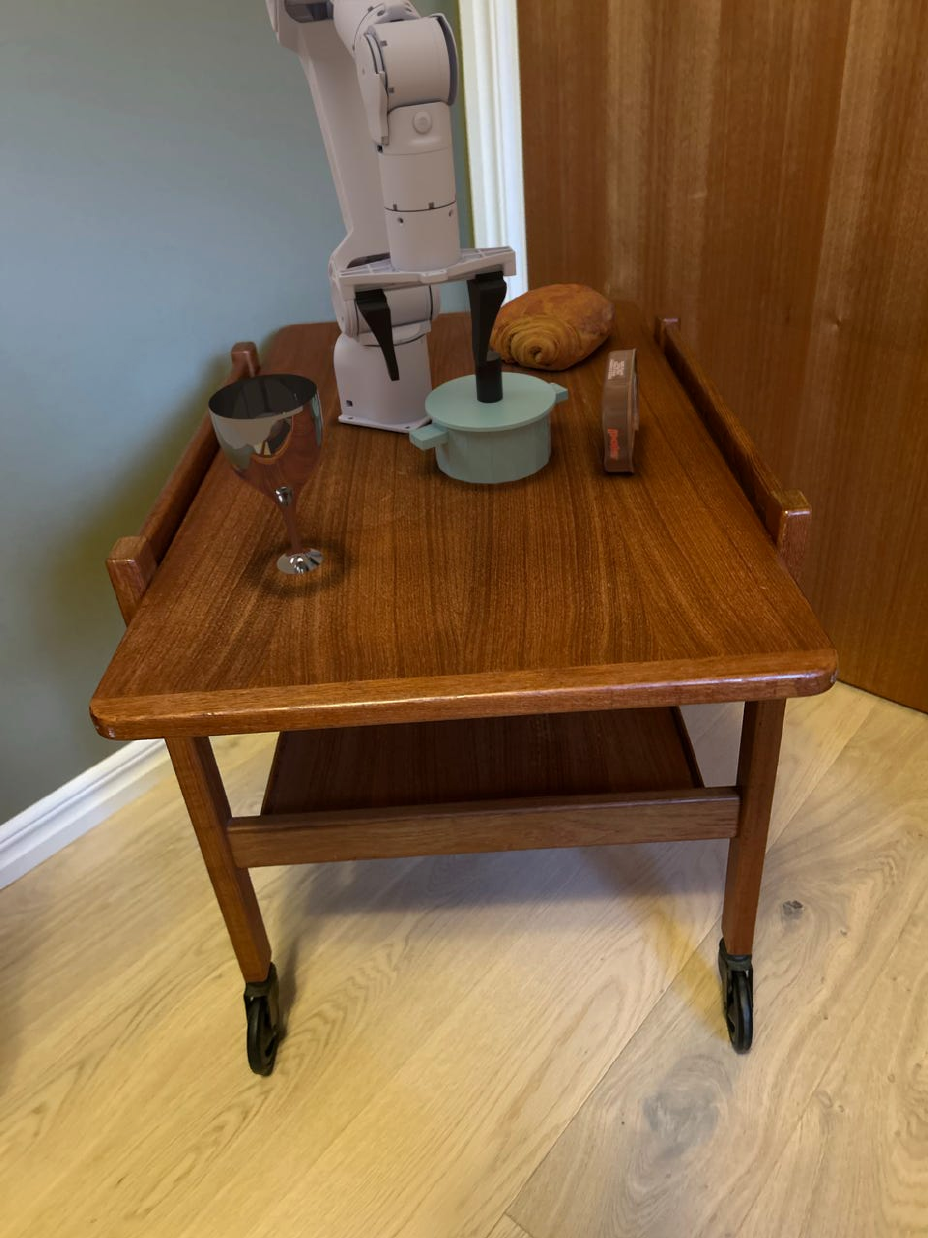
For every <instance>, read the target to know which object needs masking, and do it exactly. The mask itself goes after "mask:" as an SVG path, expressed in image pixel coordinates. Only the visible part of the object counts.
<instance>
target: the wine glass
mask: <svg viewBox="0 0 928 1238" xmlns="http://www.w3.org/2000/svg"><path fill="white" fill-rule="evenodd" d="M207 404H208V405H207V406H208V407H207V408H208V411H209V415H210V420H211V423H212V426H213V430H214V432H215V435H216V439H217V441H218V444H219V446H220V449H221V451H222V453H223V455H224V458H225V459H226V461H227V463H228V464H229V466H230V469H231V470H232V471H233V473H234V474H235V475H236V477H237V478H238V479H239V480H240V481H242V482H243V483H244V484H246V485H247V486H248V487H250V488H251V489H253V490H254V491H257V492H258V493H260V494H261V495H263V496H264V497H266V498H267V499H269V500H270V501H271V502H272V503H273V504H274V505H275V506H276V507H277V509H278V510H279V512H280V514H281V516H282V519H283V522H284V525H285V527H286V531H287V533H288V537H289V540H290V541H289V542H290V545H291V550H290V551H287V552H285V553H284V554H282V555H281V556H280V557H279V558H278V560H277V562H276V568H277V569H278V570H279V571H280V572H281V573H284V574H288V575H300V574H305V573H309V572H310V571H313V570H315V569H316V568H318V567H319V566H321V564H322V563H323V559H324V557H323V554H322V553H321V551H319V550H317V549H315V548H309V547H303V546H302V541H301V538H300V532H299V525H298V502H299V500H300V496H301V494H302V492H303V490H304V489H305V487H306V486H307V484H308V483H309V482H310V480H311V479H312V477H313V476H314V475H315V473H316V471H317V469H318V467H319V465H320V463H321V460H322V455H323V447H324V421H323V413H322V412H323V411H322V404H321V400H320V395H319V390H318V386H317V384H316V383H315V382H314V381H313V380H312V379H310V378H308V377H306V376H303V375H298V374H292V373H271V374H262V375H255V376H250V377H246V378H244V379H240V380H236V381H234V382H232V383H230V384H227V385H225V386H223V387H221V388H220V389H218V390H217V391H216V392H214V393H213V394H212V395H211V397H210V398H209V400H208V403H207Z"/></svg>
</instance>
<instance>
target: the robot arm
mask: <svg viewBox="0 0 928 1238" xmlns="http://www.w3.org/2000/svg"><path fill="white" fill-rule="evenodd" d="M264 1H265V5H266V9H267V12H268V17H269V21H270V25H271V28H272V30H273V31H274V32H275V37H276V40H277V43H278V45H280V46H281V47H284V48H285V49H287V50H289V51H290V52H293V53H295V54H297V57H298V58H299V62H300V64H301V67H302V69H303V71H304V74H305V77H306V80H307V82H308V85H309V89H310V92H311V97H312V101H313V104H314V105H313V106H314V109H315V112H316V116H317V120H318V125H319V129H320V132H321V136H322V141H323V144H324V149H325V153H326V157H327V160H328V164H329V169H330V172H331V176H332V180H333V184H334V187H335V192H336V196H337V199H338V204H339V208H340V212H341V216H342V220H343V225H344V227H345V232H346V236H345V237H344V238H343V239H342V240H341V242H340V243H339V244H338V245H337V247H336V248H335V249H334V250H333V251H332V253H331V254H330V257H329V260H328V265H327V275H328V279H329V280H328V281H329V285H330V295H331V301H332V306H333V311H334V315H335V318H336V321H337V325H338V327H339V330H340V331H341V333H340V335H339V336H338V337H337V340H336V342H335V346H334V350H333V366H334V373H335V379H336V385H337V391H338V392H337V393H338V397H339V402H340V408H341V415H339V416H338V417H337V418H338V422H340V423H344V424H349V425H355V426H361V427H368V428H373V429H379V430H385V431H391V432H398V433H404V434H409V432H410V431H413V430H416V429H419V428H422V427H425V426H426V425H428V424H429V422H430V421H432V419H431V418H430V417H429V416H428V414H427V413H426V408H425V401H426V399H427V397H428V395H429V394H430V393H431V392H432V391H433V387H432V375H431V368H430V367H431V365H430V358H429V357H430V356H429V347H428V339H427V338H428V337H427V334H428V333H431V332H432V325H431V323H434V322H436V320H437V318H438V316H439V314H440V311H441V306H442V298H441V297H442V296H441V289H440V285H443V284H449V283H455V282H464V281H466V287H467V294H468V303H469V310H470V311H469V312H470V319H471V349H472V357H473V358H472V359H473V361H475V362H476V364H477V365H478V367H484V366H486V363H487V353H488V351H489V347H490V337H491V333H492V330H493V326H494V323H495V320H496V317H497V315H498V312H499V310H500V308H501V307H502V306H503V303H504V301H505V300H506V297H507V292H508V284H507V282H506V281H505V279H504V278H506V277H514V276H517V260H516V259H517V257H516V255H517V254H516V251H515V250H514V248H512V247H511V246H510V245H503V246H502V245H501V246H493V247H476V248H475V247H474V248H461V241H460V240H461V239H460V225H459V224H460V223H459V213H458V200H457V189H456V175H455V163H454V149H453V136H452V125H451V110H450V108H449V107H453V106H454V104H455V103H456V101H457V100H458V99H457V98H458V95H459V89H460V61H459V54H458V48H457V47H458V46H457V43H456V40H455V35H454V32H453V29H452V26H451V25H450V23H449V21H448V20H447V18H446V16H445V14H444V13H442V12H438V13H437V12H436V13H431V14H430V15H428V16H421V15H420V14H419V12H418V11H417V9H416V8H415V7H414V5H413V4H412V3H411V1H410V0H264Z"/></svg>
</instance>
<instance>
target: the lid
mask: <svg viewBox="0 0 928 1238" xmlns="http://www.w3.org/2000/svg"><path fill="white" fill-rule="evenodd" d="M473 361H474V360H473ZM473 363H474V374H468V375H464V376H460V377H457V378H454V379H451V380H448V381H446V382H444V383H442V384H441V385H439V386H437V387H435V388H434V389H432V392H431V393H430V394H429V395H428V397H427V399H426V401H425V408H426V413H427V414H428V416H429V417H430V418H431V421H432V420H433V421H434V422H436V423H438V424H440V425H442V426H445V427H448V428H451V429H455V430H460V431H468V432H495V431H503V430H509V429H514V428H518V427H522V426H525V425H528V424H531V423H533V422H536V421H537V420H539V419H541V418H543V417H544V416H546V415H547V414H548V413H549V412H550V413H551V412H552V410H553V409H554V408H555V406H556V404H555V402H556V394H555V391H554V389H553V388H552V386H551V385H549V384H550V383H548V382H546V381H545V380H543V379H541V378H538V377H536V376H533V375H529V374H524V373H519V372H507V371H503V368H502V359H501V354H500V353H498V352H495V351H494V350H488V353H487V363H486V366H484V367H478V365H477V364H476V362H475V361H474V362H473Z"/></svg>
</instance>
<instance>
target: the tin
mask: <svg viewBox="0 0 928 1238" xmlns="http://www.w3.org/2000/svg"><path fill="white" fill-rule="evenodd" d="M639 393H640V392H639V363H638V351H637V348H633V349H622V350H613V351H610V352H609V353H608V356H607V360H606V364H605V370H604V375H603V381H602V389H601V404H600V405H601V406H600V407H601V408H600V409H601V411H600V412H601V428H602V433H603V441H604V459H603V466H604V470H605V472H607V473H631V474H633V473H635V470H634V468H633V467H634V466H633V452H634V451H633V450H634V444H635V434H636V431H637V432H639V431H640V430H639V428H640V427H639V425H640V424H639V423H640V410H639V409H640V400H639V399H640V396H639V395H640V394H639Z"/></svg>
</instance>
